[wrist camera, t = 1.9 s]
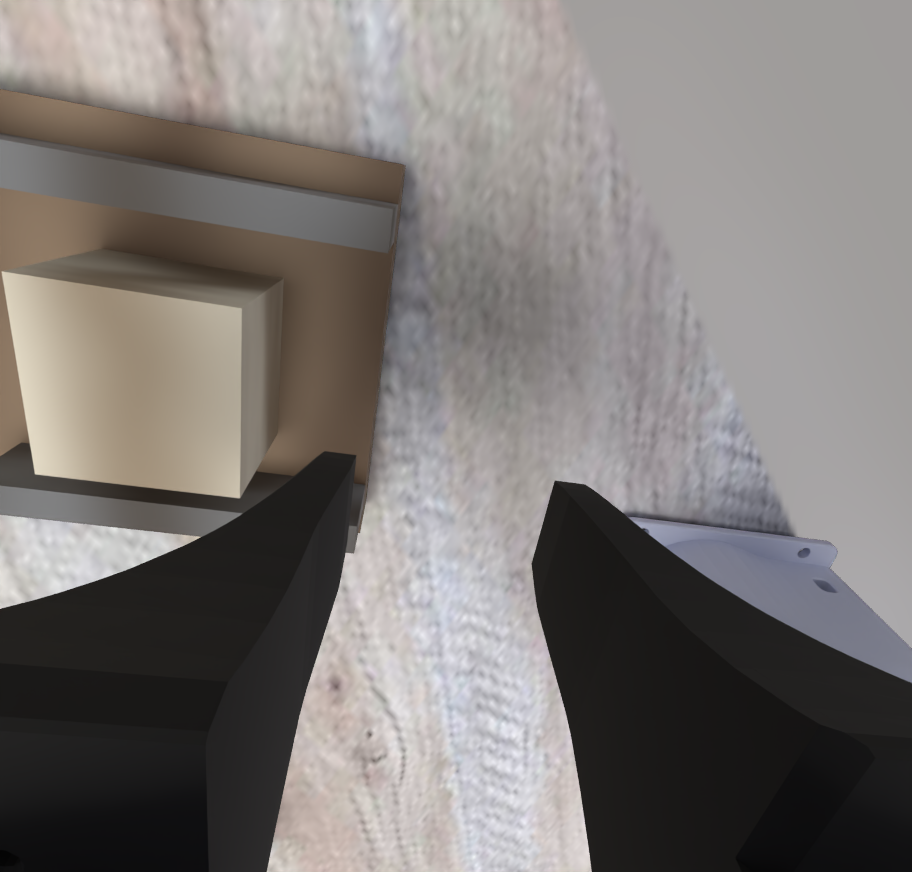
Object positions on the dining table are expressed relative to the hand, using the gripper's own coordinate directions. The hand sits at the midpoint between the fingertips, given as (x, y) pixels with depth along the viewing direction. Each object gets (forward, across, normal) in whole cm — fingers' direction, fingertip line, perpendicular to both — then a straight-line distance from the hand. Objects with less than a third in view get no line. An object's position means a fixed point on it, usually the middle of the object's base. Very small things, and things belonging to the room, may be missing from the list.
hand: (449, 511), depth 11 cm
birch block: (+7, +8, 0) cm, 11 cm away
